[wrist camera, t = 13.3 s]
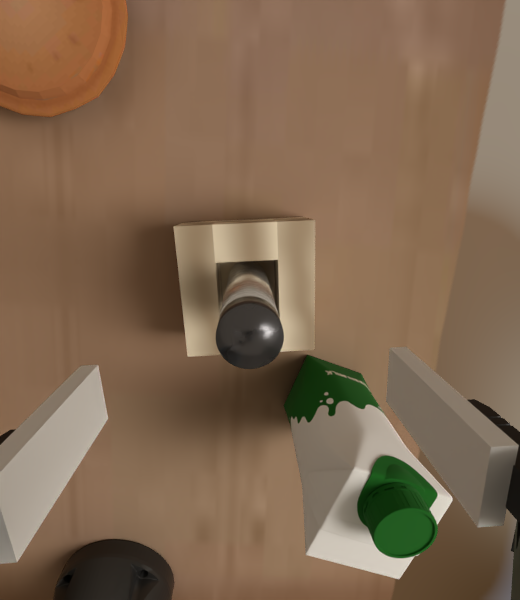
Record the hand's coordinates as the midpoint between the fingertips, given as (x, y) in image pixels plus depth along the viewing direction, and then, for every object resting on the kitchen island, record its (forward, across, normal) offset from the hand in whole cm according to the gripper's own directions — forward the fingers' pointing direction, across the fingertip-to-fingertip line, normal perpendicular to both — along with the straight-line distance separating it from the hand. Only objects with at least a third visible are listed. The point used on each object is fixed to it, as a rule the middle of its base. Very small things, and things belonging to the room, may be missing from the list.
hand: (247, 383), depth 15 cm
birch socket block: (+22, 0, 0) cm, 22 cm away
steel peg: (+21, 0, 0) cm, 21 cm away
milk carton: (+22, -8, +14) cm, 27 cm away
